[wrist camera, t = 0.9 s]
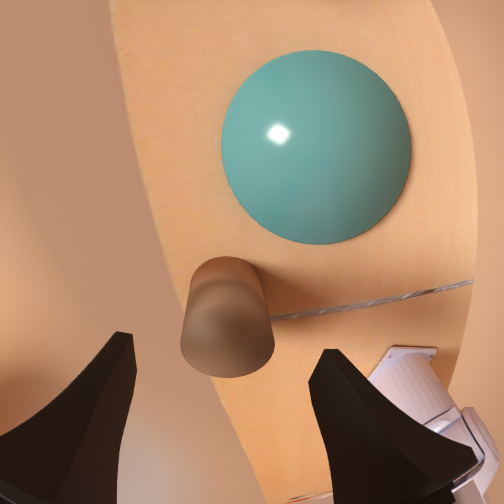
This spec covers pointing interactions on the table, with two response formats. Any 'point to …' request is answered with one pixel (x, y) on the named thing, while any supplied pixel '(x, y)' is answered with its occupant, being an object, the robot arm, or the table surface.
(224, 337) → the walnut cylinder
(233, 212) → the table surface
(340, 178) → the teal rounded disc
